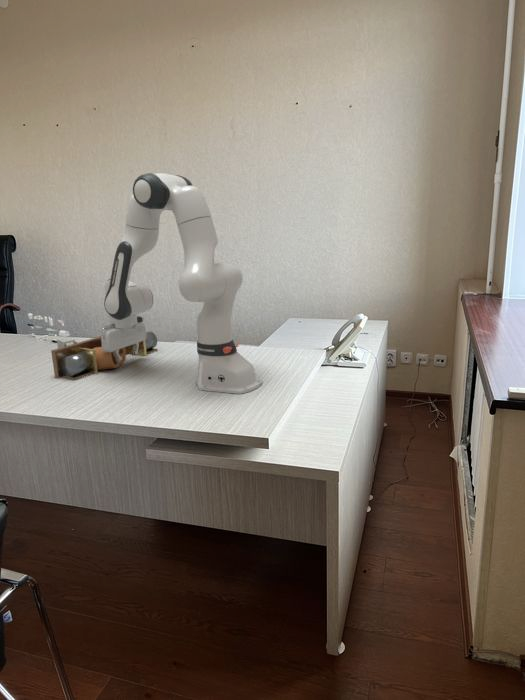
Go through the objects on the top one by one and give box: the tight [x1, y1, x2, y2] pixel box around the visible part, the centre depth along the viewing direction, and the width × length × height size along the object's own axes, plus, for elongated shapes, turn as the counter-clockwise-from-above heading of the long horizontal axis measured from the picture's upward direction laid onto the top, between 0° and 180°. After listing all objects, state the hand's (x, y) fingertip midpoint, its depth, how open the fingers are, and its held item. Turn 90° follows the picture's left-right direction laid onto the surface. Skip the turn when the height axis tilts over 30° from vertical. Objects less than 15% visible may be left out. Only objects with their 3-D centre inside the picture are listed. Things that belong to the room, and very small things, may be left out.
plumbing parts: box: [27, 312, 71, 344], centre depth 236 cm, size 6×35×12 cm, turn 52°
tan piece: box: [93, 347, 127, 371], centre depth 198 cm, size 18×8×7 cm
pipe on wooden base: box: [50, 330, 158, 381], centre depth 200 cm, size 10×44×10 cm, turn 149°
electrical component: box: [56, 336, 78, 349], centre depth 215 cm, size 24×6×5 cm, turn 42°
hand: (127, 358), depth 197 cm, fingers open, 7 cm apart
